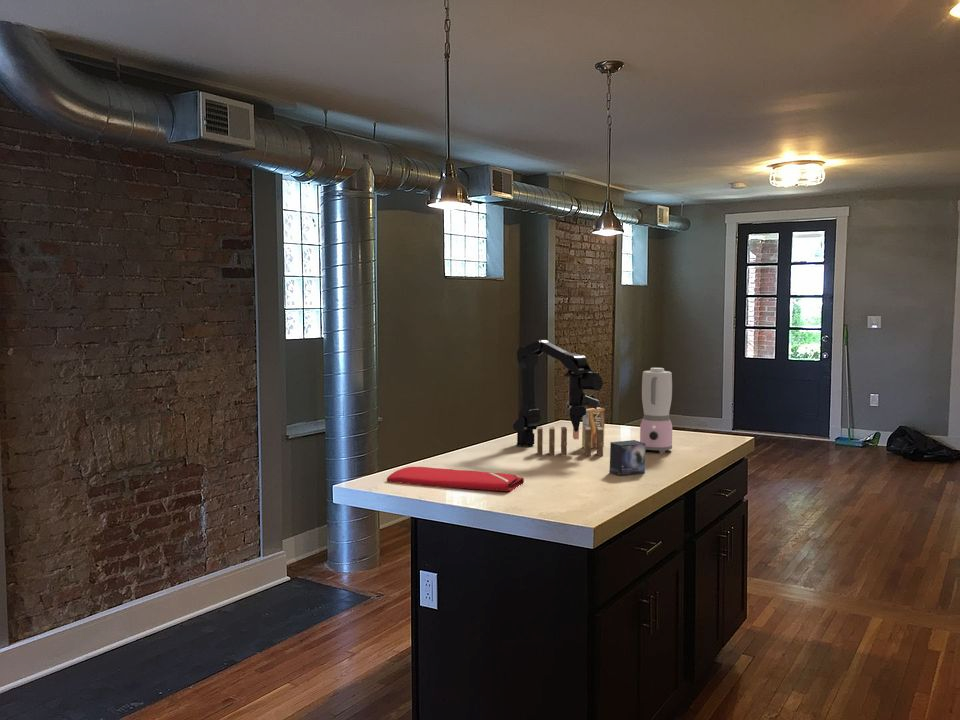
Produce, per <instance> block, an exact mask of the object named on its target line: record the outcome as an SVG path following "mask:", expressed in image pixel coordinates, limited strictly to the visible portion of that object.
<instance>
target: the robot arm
mask: <svg viewBox="0 0 960 720" xmlns="http://www.w3.org/2000/svg"><path fill="white" fill-rule="evenodd" d="M543 353H544V354H546V355H547V356H549V357H551V358H554V359H555V360H557V361H559V362H561V364H562V366H563V367H564V368H565V369H567V371H566V372H565V373H564V374H563V376H564V377H568V393H567V394H568V401H567V402H566V411H567V413H568V416H569V419H570V422H571V424H572V428H573V427H574V430H575V431H576V432H577V431H578V429H579V430H580V423H581V419H583V416H584V415H585V414H586V409H587V408H586V406H588V407H589V408H594V409H597V408H598V406H599V403H600V400H599V399H598V398H596V395H594V394H590V395H586V393H585V391H593V392H599V391H601V390H602V388H603V386H604V385H603V384H604V381H603V379H602V377H601V376H600V372H597V371H596V372H594V371H593V370H592V368H591V366H590V365H589V363H588V361H587V357H586V356H585V355H582V354H578V353H575V352H569V351H567V350H565V349H563V348H561V347H559V346H557V345H555V344H553V343H552V342H549V340H547V339H538V340H536V341H534V342H532V343H529V344H527V345H525V346H524V345H523V346H519V347H518V349H517V350H516V358H517V363H518V365H519V367H520V369H521V396H522V397H521V399H522V402H521V407H520V409H519V410H518V416H517V420H516V421H515V422H513V425H512V427H513V428H512V429H513V431H516V432H517V435H516V438H517V439H516V440H517V442H516V446H517V447H534V445H535V432H534V430H537V427H538V425H539V423H540V420H541V419H542V417H541V409H540V408H537V406H536V404H535V403H536V397H535V396H536V395H535V392H536V391H535V367H536V366H537V363H538V362H539V361H538V360H539V356H541V355H542V354H543Z"/></svg>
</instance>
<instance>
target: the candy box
mask: <svg viewBox="0 0 960 720" xmlns="http://www.w3.org/2000/svg"><path fill="white" fill-rule="evenodd" d="M605 411H606V409H605V407H597V409H594V408H593V407H589V408H586V414H585V415H584V416H583V417H582V428H581V429H582V431H581V432H582V433H581V437H582V438H581V448H583V447H584V449H585V427H590V428H591V449H594V448H595V447H596V448H597V427H602V428H603V447H604V446H605V421H606V420H605V418H606V417H605V415H606V413H605Z"/></svg>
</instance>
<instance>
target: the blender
mask: <svg viewBox="0 0 960 720" xmlns="http://www.w3.org/2000/svg"><path fill="white" fill-rule="evenodd" d="M672 374H673V373H672V372H671V371H669V370H668V371H667V370H665V368H663V367H650V370H644V371H643V372H642V380H641V402H642V408H643V417H642V419H641V422H640V426H639V430H640V432H639V442H643V443H646V446H645V453H646V452H647V450H649V451H658V453H659V454H660V453H663V454H665V453H666V451H668V450H669V451H670V450H672V449H673V424H672V421H671V419H670V410H671V405H672V398H673V377H672Z"/></svg>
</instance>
